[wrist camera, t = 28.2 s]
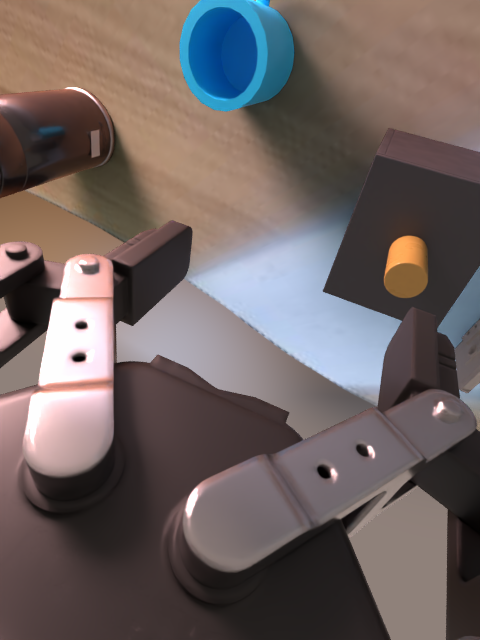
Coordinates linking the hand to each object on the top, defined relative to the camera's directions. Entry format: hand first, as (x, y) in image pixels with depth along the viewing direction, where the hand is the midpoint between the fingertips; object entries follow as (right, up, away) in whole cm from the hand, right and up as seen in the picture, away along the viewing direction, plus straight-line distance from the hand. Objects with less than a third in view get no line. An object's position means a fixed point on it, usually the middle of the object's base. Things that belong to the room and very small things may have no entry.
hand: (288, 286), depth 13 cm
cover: (+16, +11, +26) cm, 33 cm away
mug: (0, +27, +23) cm, 36 cm away
